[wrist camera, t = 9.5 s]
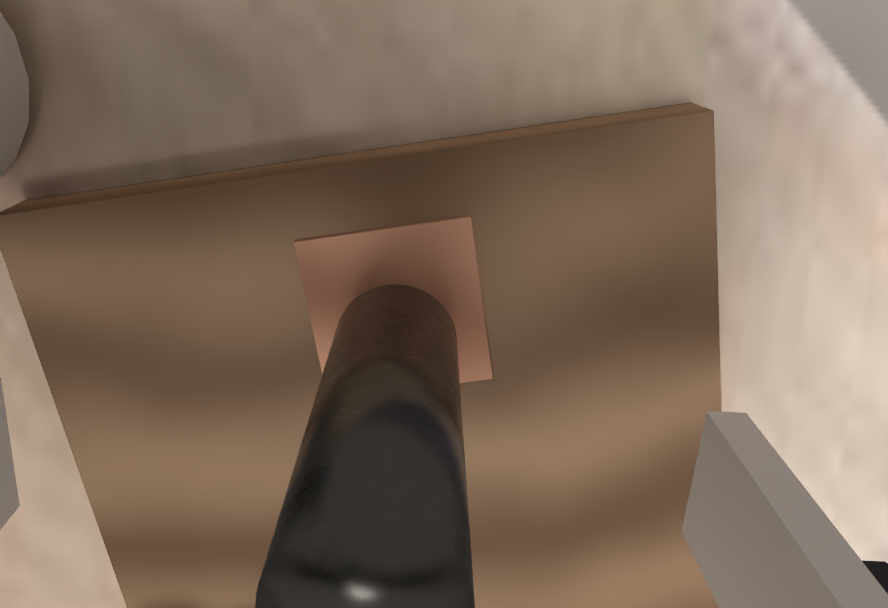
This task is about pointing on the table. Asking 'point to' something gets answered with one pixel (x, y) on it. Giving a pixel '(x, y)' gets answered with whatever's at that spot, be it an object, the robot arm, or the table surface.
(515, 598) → the nutcracker board
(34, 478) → the table surface
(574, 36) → the table surface
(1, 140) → the can
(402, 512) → the lever
